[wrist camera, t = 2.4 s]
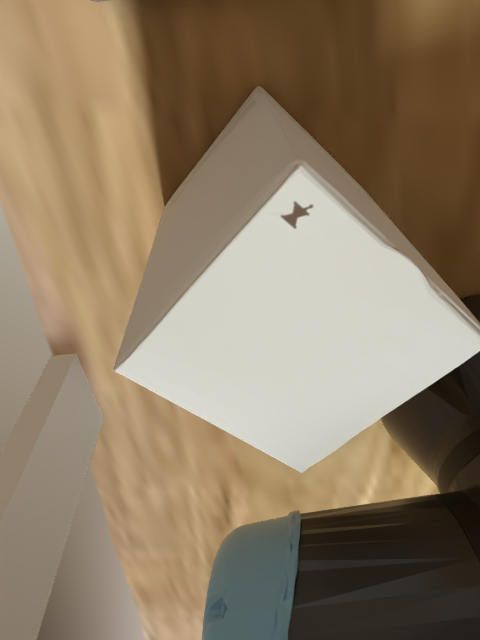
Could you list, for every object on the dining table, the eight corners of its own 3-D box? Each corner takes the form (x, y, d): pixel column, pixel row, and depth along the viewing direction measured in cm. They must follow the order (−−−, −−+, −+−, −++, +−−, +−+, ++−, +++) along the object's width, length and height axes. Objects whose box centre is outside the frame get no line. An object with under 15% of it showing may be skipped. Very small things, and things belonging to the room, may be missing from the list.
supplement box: (158, 208, 26) (98, 372, 13) (258, 80, 22) (300, 144, 10) (268, 291, 29) (299, 482, 17) (369, 192, 26) (504, 344, 13)
